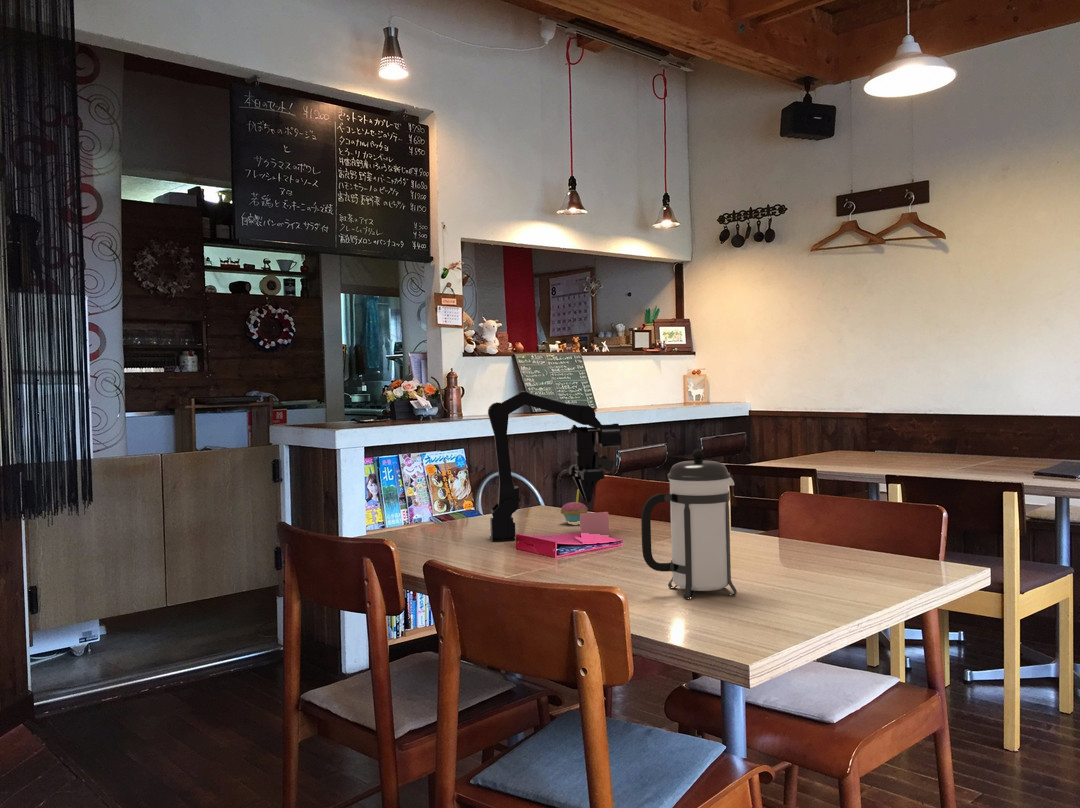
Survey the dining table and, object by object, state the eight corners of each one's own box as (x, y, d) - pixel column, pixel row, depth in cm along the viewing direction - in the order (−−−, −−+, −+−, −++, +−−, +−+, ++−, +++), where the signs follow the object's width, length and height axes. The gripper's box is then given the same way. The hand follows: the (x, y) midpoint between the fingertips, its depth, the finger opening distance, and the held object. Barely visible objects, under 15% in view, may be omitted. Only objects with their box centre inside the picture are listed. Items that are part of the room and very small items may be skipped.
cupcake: (592, 523, 269) (591, 485, 268) (579, 527, 261) (578, 488, 261) (569, 521, 273) (568, 484, 273) (556, 525, 266) (554, 487, 266)
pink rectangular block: (582, 538, 239) (581, 514, 239) (580, 538, 241) (579, 513, 241) (609, 537, 241) (608, 512, 241) (607, 536, 242) (606, 511, 242)
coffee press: (683, 579, 188) (680, 445, 187) (750, 589, 177) (747, 446, 177) (641, 596, 174) (637, 451, 174) (711, 607, 164) (707, 453, 163)
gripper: (621, 448, 239) (622, 503, 239) (603, 444, 257) (604, 495, 258) (583, 450, 237) (584, 506, 237) (567, 446, 255) (569, 497, 255)
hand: (587, 501), depth 247 cm, fingers open, 4 cm apart
